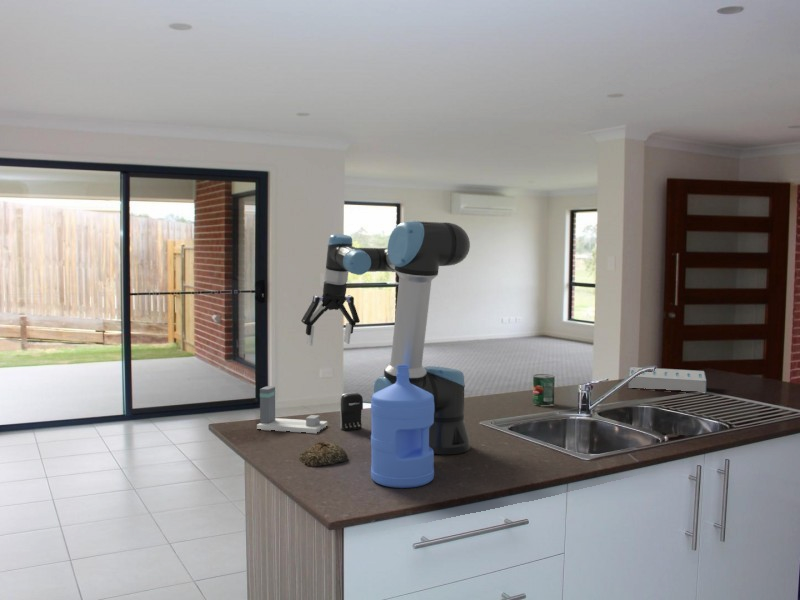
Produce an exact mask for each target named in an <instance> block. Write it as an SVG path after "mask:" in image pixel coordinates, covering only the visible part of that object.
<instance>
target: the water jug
mask: <svg viewBox="0 0 800 600" xmlns="http://www.w3.org/2000/svg"><path fill="white" fill-rule="evenodd" d="M396 368H397V373H396V375H397V381H396V383H395V384H393V385H390V386H388V387H386V388H384V389H382V390H380V391H378V392H376V393H374V392H373V394H372V395H371V403H370V413H371V435H370V447H371V456H370V457H371V465H370V466H371V468H370V477H371V479H372V480H373V482H375V483H377V484H378V485H380V486H384V487H388V488H395V489H396V488H397V489H398V488H399V489H410V488H417V487H422V486H425V485H427V484H429V483H431V482H432V481H433V479H434V478H435V468H434V463H435V462H434V460H435V459H434V456H435V454H434V451H433V449H432V448H430V447H429V428H430V426H431V425H432V424H433V423H434V409H435V405H434V396H433V395H432V394H431V393H429V392H427V391H425V390H423V389H421V388H419V387H417V386H415V385H413V384H411V383H410V382H409V366H405V365H400V366H396Z"/></svg>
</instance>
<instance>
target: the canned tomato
mask: <svg viewBox="0 0 800 600" xmlns="http://www.w3.org/2000/svg"><path fill="white" fill-rule="evenodd" d="M532 376H533V377H532V380H533V381H532V405H533V404H536V405H550V404H554V405H555V379H556V378H555V377H556V375H554V374H549V373H538V374H533V375H532Z"/></svg>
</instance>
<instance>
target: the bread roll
mask: <svg viewBox="0 0 800 600" xmlns="http://www.w3.org/2000/svg"><path fill="white" fill-rule="evenodd" d="M298 457H299V462H301V463H303V464H304V466H307V467H322V466H323V467H324V466H329V465H330V466H331V465H335V464H339V462H340V463H344V462H346V461H347V460H348V459H349V456H348V453H347V452H346V450H344V448H343V447H341V446H339V444H335V443H331V442H327V441H319V442H316V443H314V444H313V445H311V446H310V447H308V448H307V449H305V451H302V452H300V453H299V456H298Z"/></svg>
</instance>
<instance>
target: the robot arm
mask: <svg viewBox="0 0 800 600" xmlns="http://www.w3.org/2000/svg"><path fill="white" fill-rule="evenodd" d="M387 242H388V243H387V247H381V248H380V247H379V248H377V247H355V246H353V238H352V236H349V235H346V234H341V233H340V234H339V233H334V234H330V236H329V239H328V244H327V253H326V262H325V271H324V272H325V273H324V280H325V281H324V282H323V288H322V296H318V295H317V294H315V295H313V296H312V300H311V303H310V305H309V306H308V308H307V310H306V311H305V313H304V315H303V317H302V319H301V323H302V324H304V325H306V328H305V334H306V335H307V338H306V339H307V340H306V343H307V344H308V346H313V344H314V343H313V341H314V333H315V323H316V322H317V321H318V320H319V319H320V318H321V316H322V315H323V314H324V313H325V312H327V311H328V310H329V311H332V310H335V311H338V310H339V311H340V313H342V315H343V316H344V317H345V319H346V321H347V322H346V323H345V331H344V338H343V342H345V344H347V345H349V344H350V342H351V335H352V334H353V333H354V327H355V326H356V325H357V324H359V323H360V317H359V315H358V311H357V309H356V305H355V297H354V296H353V295H351V294H349V295H346V293H347V289H348V284H347V283H348V278H349V273H351V274H353V275H357V276H360V275H364V274H366V273H367V272H368V273H371V272H372V273H374V272H375V273H376V272H385V273H386V272H387V273H388V272H390V273H396V275H397V276H398V277H399V279H398V288H397V297H396V298H397V299H396V306H395V307H396V308H395V309H396V310H395V317H394V328H393V337H392V346H391V355H390V362H389V363H387V364H386V365H385V366H384V371H383V375H382V376H379V377H377V378H376V379H375V381H374V385H373V394H374V393H376V392H378V391H380V390H382V389H384V388H386V387H388V386H390V385H393V384H395V383H396V381H397V375H396V373H397V368H396V366H400V365H405V366H409V382H410V383H411V384H413V385H415V386H417V387H419V388H421V389H423V390H425V391H427V392H429V393H431V394H432V395H433V396H434V405H435V409H434V423H433V424H432V425H431V426H430V428H429V447H430V448H432V449H433V451H434V455H444V456H445V455H457V454H463V453H466V452H468V451H469V450H470V449H471V439H470V437H469V434H468V430H467V428H466V423H465V387H466V384H465V375H464V373H463V372H462V370H459V369H455V368H450V367H443V366H433V365H432V366H430V365H429V366H427V365H426V366H423V358H424V357H423V356H424V350H425V343H426V341H425V339H426V332H427V325H428V324H427V323H428V314H429V306H430V297H431V296H430V295H431V290H432V289H431V288H432V281H433V280H434V279H435V278H436V277H438V275H439V269H440V267H446V266H447V267H448V266H455V265H458V264H460V263H461V262H463V261H464V260H465V259H466V258H467V256H468V254H469V252H470V248H471V242H470V237H469V235H468V233H467V232H466V231H465V229H464V228H462V227H461V226H459V225H458V224H457V223H456V224H455V223H451V222H437V221H436V222H435V221H419V220H417V221H416V220H413V221H404V222H400V223H399V224H397V225H396V227H394V228H393V230H392V231H391V233H390V236H389V238H388V241H387ZM345 302H347V305H348V308H349V311H350V313H349V311H348V310H347V308H346V307H345V306H344V304H345ZM319 304H320V305H319ZM318 306H319V307H318ZM317 307H318V308H317ZM350 314H351V315H350Z"/></svg>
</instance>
